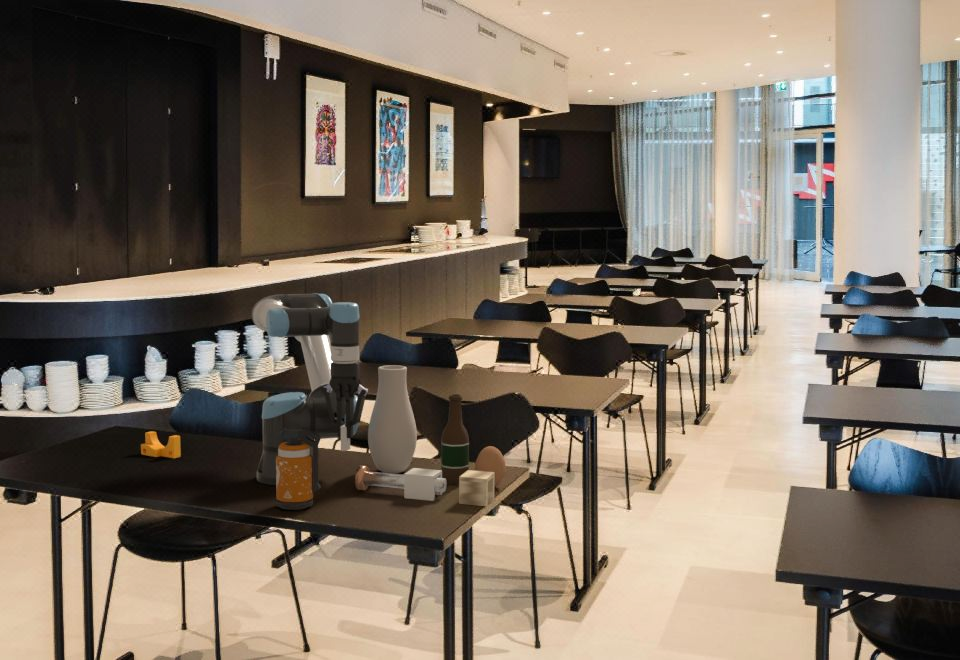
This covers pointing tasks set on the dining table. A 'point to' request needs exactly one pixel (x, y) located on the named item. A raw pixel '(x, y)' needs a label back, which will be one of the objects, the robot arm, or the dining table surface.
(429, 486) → the sleeve
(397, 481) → the bolt
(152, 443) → the pipe clamp
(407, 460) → the vase
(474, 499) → the socket
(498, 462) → the egg
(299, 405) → the robot arm
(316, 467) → the canister
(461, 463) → the beer bottle
